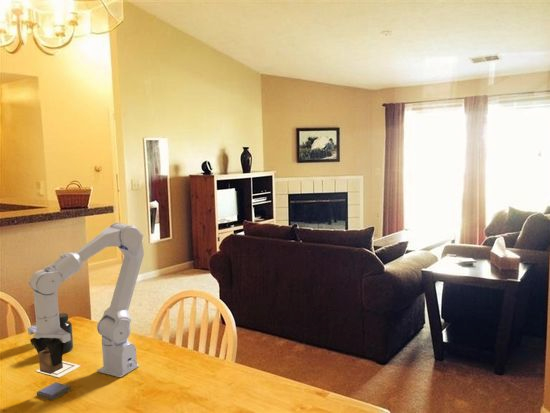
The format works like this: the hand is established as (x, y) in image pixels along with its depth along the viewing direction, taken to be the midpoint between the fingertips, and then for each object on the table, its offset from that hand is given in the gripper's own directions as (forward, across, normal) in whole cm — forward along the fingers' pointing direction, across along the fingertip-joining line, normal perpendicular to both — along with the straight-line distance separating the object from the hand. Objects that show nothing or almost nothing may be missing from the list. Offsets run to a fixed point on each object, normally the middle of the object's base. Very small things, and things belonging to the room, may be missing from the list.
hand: (51, 362), depth 126 cm
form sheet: (+8, -11, +10) cm, 17 cm away
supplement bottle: (+9, -21, +20) cm, 30 cm away
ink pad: (+8, 0, 0) cm, 8 cm away
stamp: (+2, 0, 0) cm, 2 cm away
